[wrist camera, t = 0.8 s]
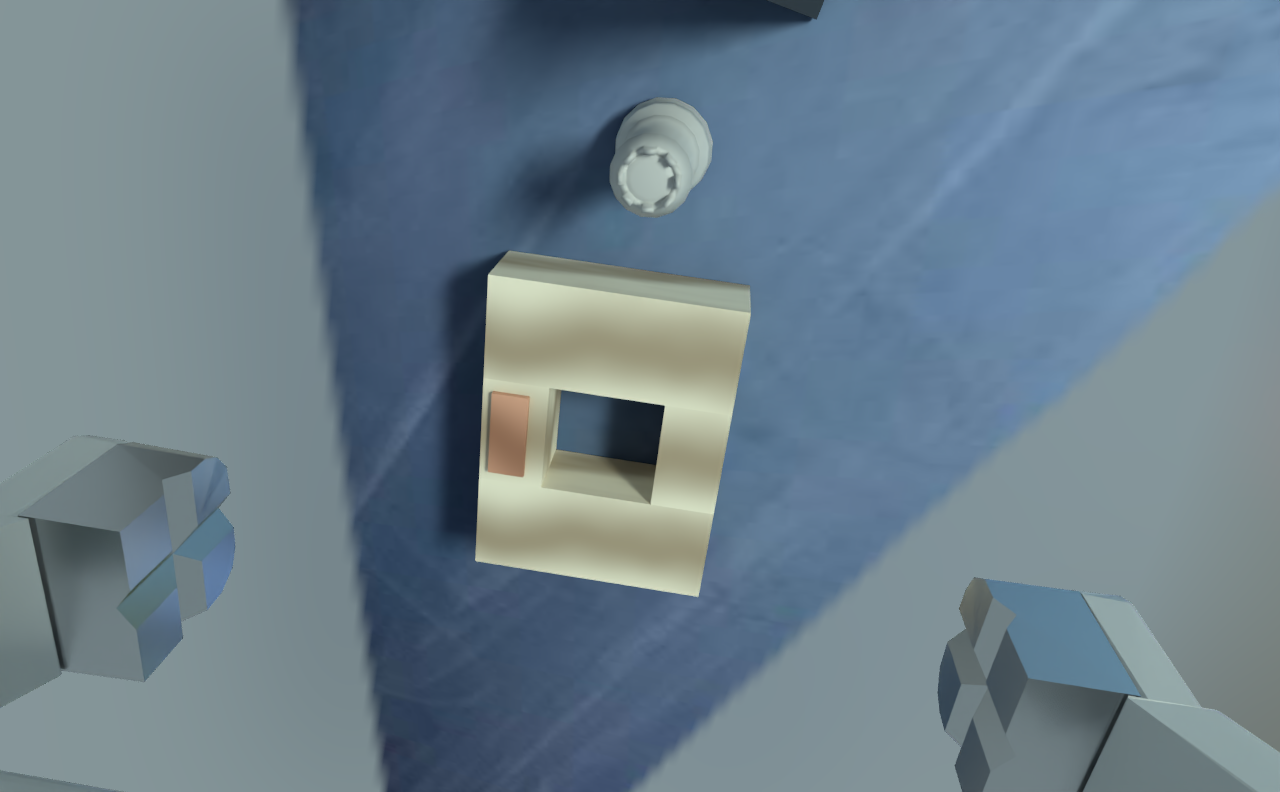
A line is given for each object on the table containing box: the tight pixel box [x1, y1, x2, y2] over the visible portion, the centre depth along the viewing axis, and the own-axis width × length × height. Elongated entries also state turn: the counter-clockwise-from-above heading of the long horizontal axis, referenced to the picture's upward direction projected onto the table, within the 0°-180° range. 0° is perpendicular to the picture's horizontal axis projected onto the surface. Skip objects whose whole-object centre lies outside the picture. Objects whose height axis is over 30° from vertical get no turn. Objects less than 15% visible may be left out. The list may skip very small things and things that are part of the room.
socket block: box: [475, 251, 751, 597], centre depth 44 cm, size 16×12×4 cm
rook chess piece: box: [610, 97, 713, 218], centre depth 36 cm, size 4×4×8 cm
